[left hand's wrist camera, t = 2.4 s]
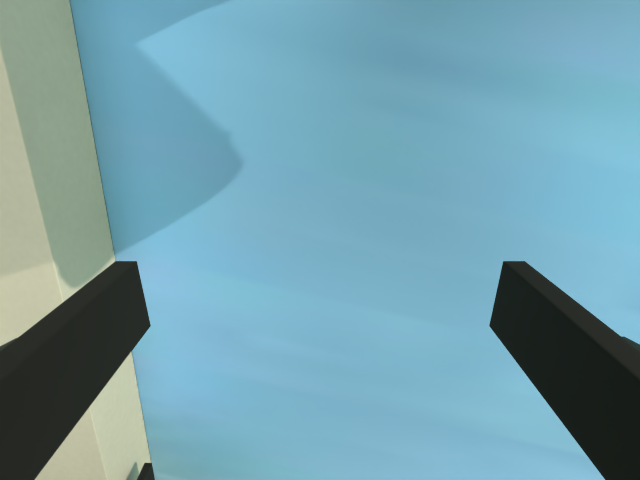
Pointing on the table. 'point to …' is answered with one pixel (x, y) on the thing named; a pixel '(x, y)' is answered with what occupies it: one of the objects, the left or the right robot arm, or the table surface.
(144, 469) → the right robot arm
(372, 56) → the table surface
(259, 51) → the table surface
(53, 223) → the thick block
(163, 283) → the table surface
